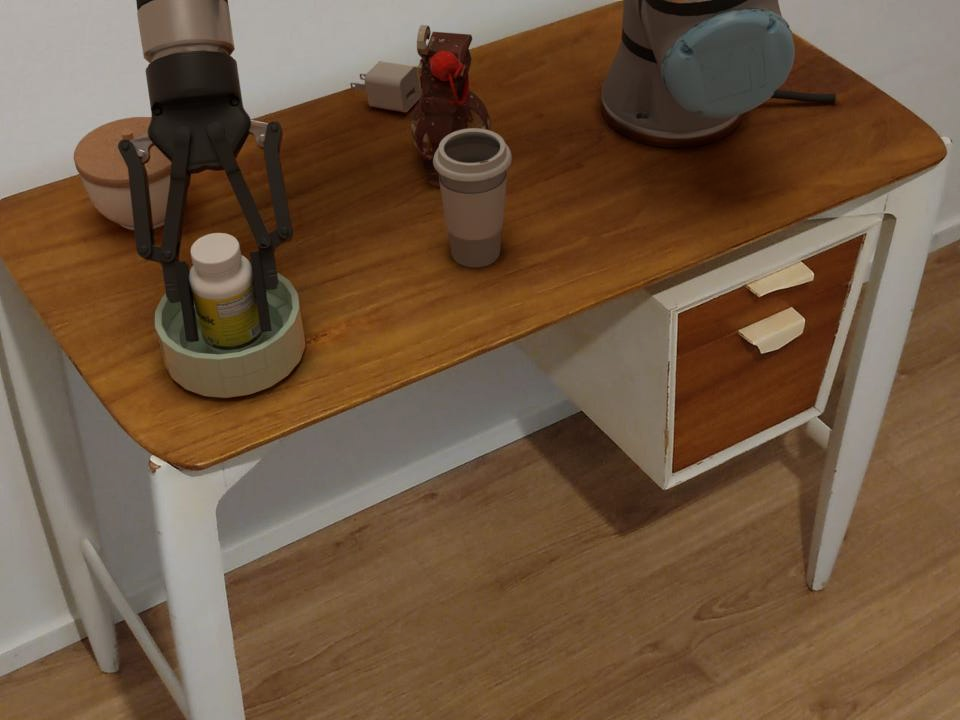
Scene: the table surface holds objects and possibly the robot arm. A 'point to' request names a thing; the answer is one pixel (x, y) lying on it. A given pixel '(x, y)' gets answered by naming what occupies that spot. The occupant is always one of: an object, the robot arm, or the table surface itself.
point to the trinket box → (120, 172)
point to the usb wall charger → (391, 86)
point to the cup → (473, 193)
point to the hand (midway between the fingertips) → (229, 335)
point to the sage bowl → (239, 369)
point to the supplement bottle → (224, 294)
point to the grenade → (444, 95)
